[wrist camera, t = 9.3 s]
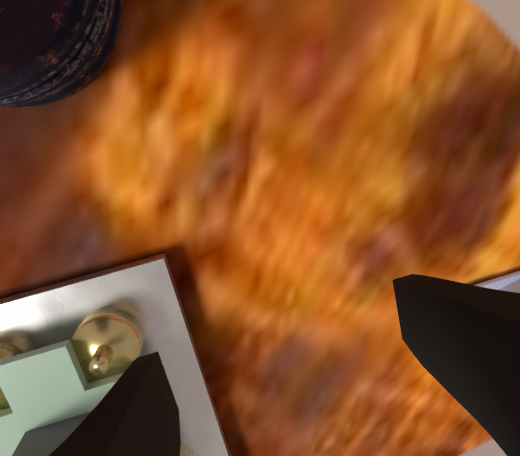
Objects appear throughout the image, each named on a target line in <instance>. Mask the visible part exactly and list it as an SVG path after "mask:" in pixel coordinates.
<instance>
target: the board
mask: <svg viewBox="0 0 520 456" xmlns="http://www.w3.org/2000/svg"><path fill="white" fill-rule="evenodd" d="M123 373H124V372H123ZM123 373H120V374H117V375H113V376H110V377H107V378H104V379H100V380H97V381H94V382H91V383H88V382H87V380H86V377H85V375H84V373H83V370H82V368H81V366H80V363H79V361H78V358H77V356H76V354H75V351H74V349H73V347H72V344H71V342H70V340H66V341H63V342H60V343H56V344H53V345H49V346H46V347H43V348H39V349H36V350H32V351H29V352H26V353H22V354H19V355H15V356H12V357H9V358H5V359H2V360H0V387H1V389H2V391H3V393H4V395H5V397H6V399H7V401H8V403H9V405H10V407H9V408H6V409H3V410H0V456H49V455H50V454H51V453H52V452H53V451H54V450H55V449H56V448H57V447H58V446H59V445H60V444H61V443H62V442H63V441H64V440H65V439H66V438H67V437H68V436H69V435H70V434H71V433H72V432H73V431H74V430H75V429H76V428H77V427H78V426H79V425H80V424H81V422H82V421H83V420H84V419H85V418H86V417H87V416H88V415H89V414H90V412H91V411H92V410H93V409H94V408H95V407H96V406H97V405H98V404H99V402H100V401H101V400H102V399H103V398H104V396H105V395H106V394H107V393H108V391H109V390H110V389H111V388H112V387H113V385H114V384H115V383H116V382H117V381H118V379H119V378H120V377H121V376H122V374H123Z"/></svg>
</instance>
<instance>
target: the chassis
mask: <svg viewBox="0 0 520 456" xmlns="http://www.w3.org/2000/svg"><path fill="white" fill-rule="evenodd" d="M66 340H70V342H71V344H72V347H73V349H74V351H75V354H76V356H77V358H78V361H79V363H80V366H81V368H82V370H83V373H84V375H85V377H86V380H87V382H88V383H91V382H94V381H97V380H100V379H104V378H107V377H110V376H113V375H117V374H120V373H123V372H125V371H126V369H127V368H128V367H129V366H130V365H131V364H132V362H133V361H134V360H135V359H136V358H138V357H141V356H144V355H148V354H151V353H154V352H157V351H158V353H159V355H160V358H161V361H162V364H163V367H164V369H165V372H166V375H167V378H168V381H169V383H170V386H171V389H172V392H173V395H174V398H175V400H176V403H177V406H178V409H179V418H180V439H181V446H180V456H231V453H230V450H229V447H228V444H227V441H226V438H225V435H224V432H223V429H222V426H221V423H220V420H219V417H218V413H217V410H216V407H215V404H214V401H213V398H212V395H211V392H210V389H209V386H208V383H207V380H206V377H205V373H204V370H203V367H202V364H201V361H200V358H199V355H198V352H197V349H196V346H195V343H194V340H193V337H192V334H191V330H190V327H189V324H188V321H187V318H186V315H185V312H184V309H183V306H182V303H181V300H180V297H179V294H178V290H177V287H176V284H175V281H174V278H173V275H172V272H171V269H170V266H169V263H168V260H167V257H166V254H165V253H162V254H159V255H155V256H152V257H148V258H144V259H141V260H137V261H134V262H130V263H127V264H123V265H119V266H116V267H112V268H109V269H105V270H102V271H98V272H94V273H91V274H87V275H84V276H80V277H77V278H73V279H69V280H66V281H62V282H59V283H55V284H52V285H48V286H44V287H41V288H37V289H34V290H30V291H27V292H23V293H19V294H16V295H12V296H9V297H5V298H2V299H0V360H2V359H5V358H9V357H12V356H15V355H19V354H22V353H26V352H29V351H32V350H36V349H39V348H43V347H46V346H49V345H53V344H56V343H60V342H63V341H66ZM9 407H10V405H9V403H8V401H7V399H6V397H5V395H4V393H3V391H2V389H1V387H0V410H3V409H6V408H9Z"/></svg>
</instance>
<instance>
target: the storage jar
mask: <svg viewBox="0 0 520 456" xmlns="http://www.w3.org/2000/svg"><path fill="white" fill-rule="evenodd" d="M121 18H122V0H0V106H2V107H15V108H26V107H39V106H43V105H47V104H51V103H55V102H58V101H60V100H62V99H65V98H67V97H70V96H71V95H73V94H75V93H76V92H78V91H79V90H81V89H82V88H84V87H85V86H86V85H87V84H88V83H89V82H91V81H92V80H93V79H94V78H95V77H96V76H97V75H98V73H99V72H100V71H101V69H102V68H103V67H104V65H105V64H106V63H107V61H108V59H109V57H110V55H111V53H112V51H113V49H114V47H115V44H116V41H117V37H118V34H119V31H120V25H121Z"/></svg>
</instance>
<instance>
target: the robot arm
mask: <svg viewBox="0 0 520 456" xmlns="http://www.w3.org/2000/svg"><path fill="white" fill-rule="evenodd" d="M393 285H394V291H395V297H396V303H397V309H398V315H399V321H400V327H401V333H402V339H403V340H404V342H405V343H406V344H407V346H408V347H409V349H410V350H411V351H412V353H413V354H414V355H415V357H416V358H417V359H418V361H419V362H420V363H421V364H422V365H423V367H424V368H425V369H426V370H427V371H428V372H429V373H430V374H431V375H432V376H433V377H434V378H435V379H436V380H437V381H438V382H439V383H440V384H441V385H442V386H443V387H444V388H445V389H446V390H447V391H448V392H449V393H450V394H451V395H452V396H453V397H454V398H455V399H456V400H457V401H458V402H459V403H460V404H461V405H462V406H463V407H464V408H465V409H466V410H467V411H468V412H469V413H470V414H471V415H472V416H473V417H474V418H475V419H476V420H477V421H478V422H479V423H480V424H481V425H482V427H483V428H484V429H485V430H486V431H487V432H488V433H489V434H490V435H491V436H492V438H493V439H494V440H495V441H496V443H497V444H498V445H499V446H500V447H501V449H502V450H503V451H504V452H505V454H506V455H507V456H520V271H517V272H514V273H511V274H508V275H505V276H501V277H498V278H495V279H492V280H488V281H485V282H482V283H479V284H476V285H469V284H464V283H459V282H454V281H449V280H445V279H440V278H435V277H429V276H423V275H415V274H411V275H407V276H404V277H401V278H398V279H394V280H393ZM180 446H181V439H180V418H179V409H178V406H177V403H176V400H175V398H174V395H173V392H172V389H171V386H170V383H169V381H168V378H167V375H166V372H165V369H164V367H163V364H162V361H161V358H160V355H159V353H158V351H157V352H154V353H151V354H148V355H144V356H141V357H138V358H136V359H135V360H134V361H133V362H132V364H131V365H130V366H129V367H128V368H127V369H126V371H125V372H124V373H123V374H122V376H121V377H120V378H119V379H118V381H117V382H116V383H115V384H114V385H113V387H112V388H111V389H110V390H109V391H108V393H107V394H106V395H105V396H104V398H103V399H102V400H101V401H100V402H99V404H98V405H97V406H96V407H95V408H94V409H93V410H92V411H91V412H90V414H89V415H88V416H87V417H86V418H85V419H84V420H83V421H82V422H81V424H80V425H79V426H78V427H77V428H76V429H75V430H74V431H73V432H72V433H71V434H70V435H69V436H68V437H67V438H66V439H65V440H64V441H63V442H62V443H61V444H60V445H59V446H58V447H57V448H56V449H55V450H54V451H53V452H52V453H51V454H50V455H49V456H180Z"/></svg>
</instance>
